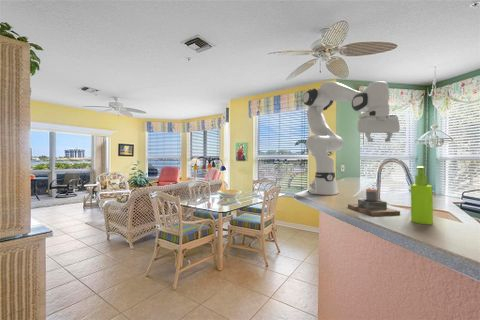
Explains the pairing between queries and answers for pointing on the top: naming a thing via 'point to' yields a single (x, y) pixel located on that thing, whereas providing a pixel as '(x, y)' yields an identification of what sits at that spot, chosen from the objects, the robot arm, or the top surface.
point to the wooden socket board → (373, 208)
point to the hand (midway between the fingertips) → (379, 141)
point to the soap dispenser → (421, 199)
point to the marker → (371, 195)
